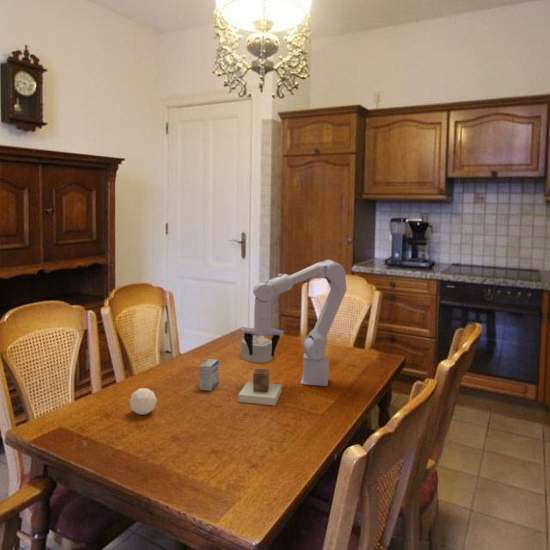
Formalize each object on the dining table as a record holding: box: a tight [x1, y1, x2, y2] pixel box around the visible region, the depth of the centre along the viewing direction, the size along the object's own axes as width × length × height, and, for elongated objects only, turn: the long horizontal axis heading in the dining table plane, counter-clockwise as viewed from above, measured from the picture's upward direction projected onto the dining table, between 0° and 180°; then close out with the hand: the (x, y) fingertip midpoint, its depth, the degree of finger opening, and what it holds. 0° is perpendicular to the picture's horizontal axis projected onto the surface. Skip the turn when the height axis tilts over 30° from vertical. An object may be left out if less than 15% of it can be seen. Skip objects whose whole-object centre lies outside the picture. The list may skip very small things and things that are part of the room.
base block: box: [237, 381, 283, 406], centre depth 163 cm, size 12×12×3 cm
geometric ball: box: [129, 387, 158, 416], centre depth 148 cm, size 8×8×8 cm
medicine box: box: [198, 358, 220, 392], centre depth 170 cm, size 8×4×9 cm, turn 168°
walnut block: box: [252, 368, 270, 392], centre depth 162 cm, size 5×5×6 cm
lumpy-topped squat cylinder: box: [240, 335, 274, 364], centre depth 202 cm, size 10×13×9 cm
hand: (261, 355), depth 173 cm, fingers open, 7 cm apart
